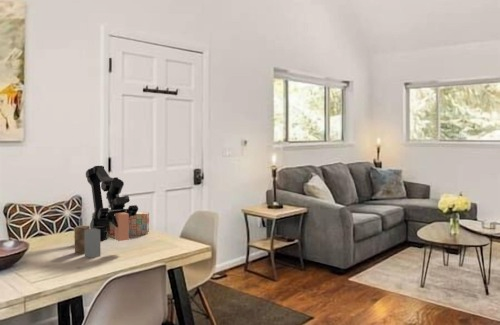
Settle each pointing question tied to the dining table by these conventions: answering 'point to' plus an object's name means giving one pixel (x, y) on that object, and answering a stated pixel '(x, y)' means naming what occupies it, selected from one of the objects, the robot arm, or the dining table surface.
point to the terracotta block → (122, 226)
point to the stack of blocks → (136, 224)
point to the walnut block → (80, 239)
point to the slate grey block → (92, 243)
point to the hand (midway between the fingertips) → (122, 226)
